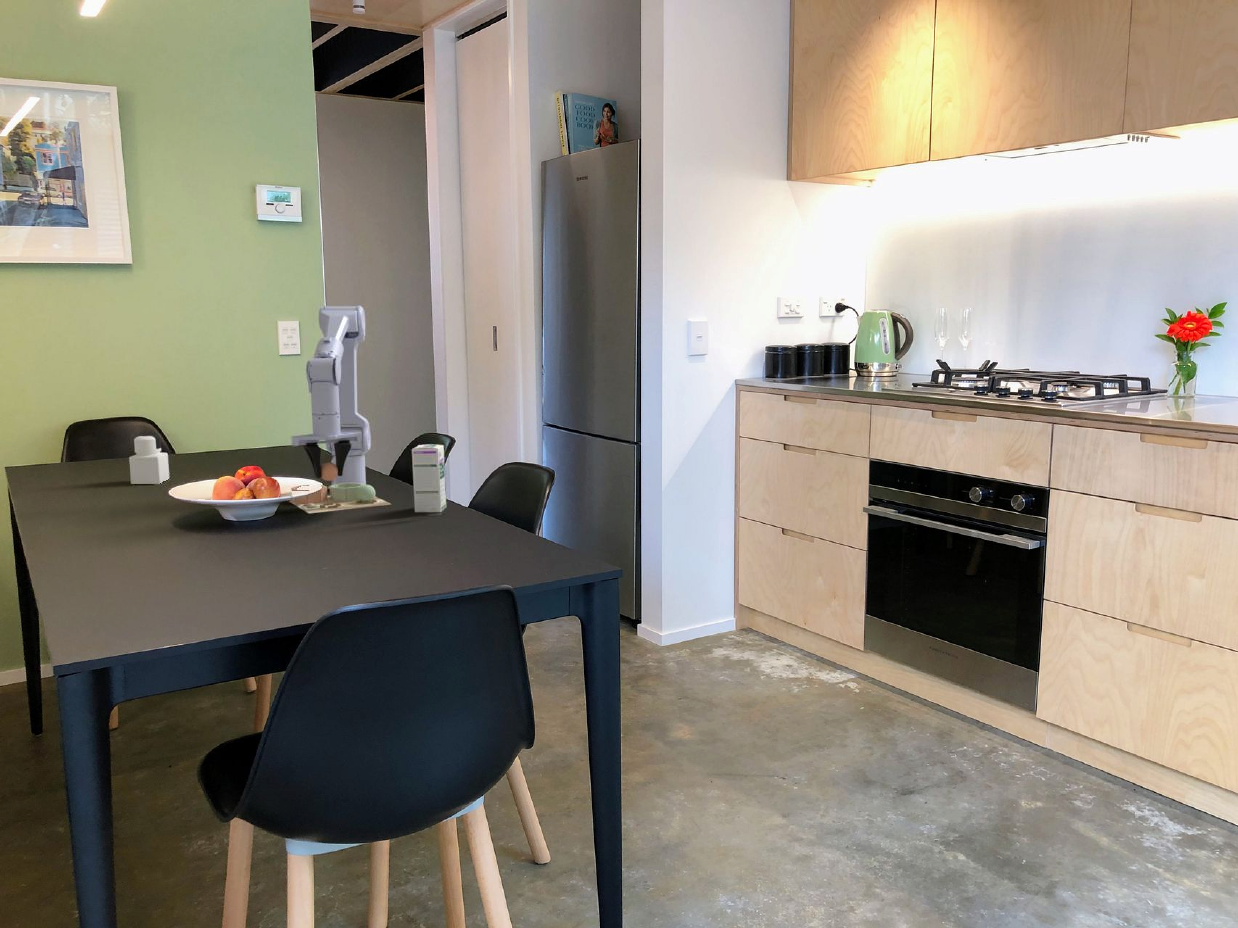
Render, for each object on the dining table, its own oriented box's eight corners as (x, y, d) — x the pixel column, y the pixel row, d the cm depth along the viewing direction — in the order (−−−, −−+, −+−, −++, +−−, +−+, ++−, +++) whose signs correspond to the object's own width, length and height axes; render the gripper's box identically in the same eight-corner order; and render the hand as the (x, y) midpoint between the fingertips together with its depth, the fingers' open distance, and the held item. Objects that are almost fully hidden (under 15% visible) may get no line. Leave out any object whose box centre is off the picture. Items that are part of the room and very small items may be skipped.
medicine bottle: (141, 480, 250) (137, 434, 248) (170, 479, 251) (166, 433, 249) (130, 485, 243) (126, 437, 241) (160, 484, 244) (156, 437, 242)
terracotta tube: (289, 499, 218) (288, 486, 218) (321, 496, 222) (320, 483, 222) (297, 505, 212) (296, 491, 212) (330, 501, 216) (329, 488, 216)
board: (287, 503, 218) (286, 498, 218) (365, 495, 228) (365, 490, 228) (309, 516, 203) (308, 511, 203) (391, 507, 213) (391, 502, 213)
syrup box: (441, 515, 205) (439, 447, 202) (413, 515, 205) (411, 447, 202) (446, 510, 210) (444, 444, 208) (419, 510, 210) (417, 444, 208)
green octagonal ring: (327, 497, 221) (326, 484, 220) (358, 494, 225) (357, 481, 224) (336, 502, 215) (336, 489, 214) (368, 499, 219) (368, 486, 218)
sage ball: (354, 501, 216) (354, 484, 215) (372, 500, 218) (371, 482, 217) (360, 504, 212) (359, 486, 212) (378, 502, 214) (377, 485, 214)
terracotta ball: (317, 480, 211) (316, 461, 210) (335, 478, 213) (334, 460, 212) (322, 482, 207) (321, 464, 207) (341, 481, 209) (340, 462, 209)
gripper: (296, 417, 201) (299, 482, 203) (365, 413, 208) (367, 475, 210) (287, 414, 206) (290, 477, 208) (354, 410, 214) (357, 471, 216)
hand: (328, 476), depth 210 cm, fingers closed on terracotta ball, 4 cm apart
